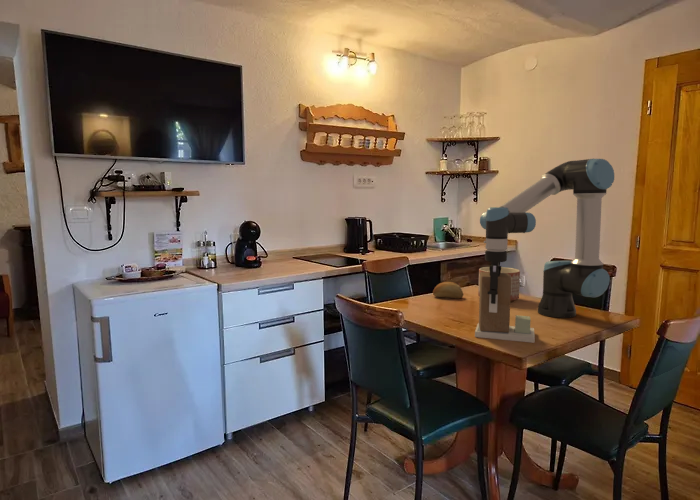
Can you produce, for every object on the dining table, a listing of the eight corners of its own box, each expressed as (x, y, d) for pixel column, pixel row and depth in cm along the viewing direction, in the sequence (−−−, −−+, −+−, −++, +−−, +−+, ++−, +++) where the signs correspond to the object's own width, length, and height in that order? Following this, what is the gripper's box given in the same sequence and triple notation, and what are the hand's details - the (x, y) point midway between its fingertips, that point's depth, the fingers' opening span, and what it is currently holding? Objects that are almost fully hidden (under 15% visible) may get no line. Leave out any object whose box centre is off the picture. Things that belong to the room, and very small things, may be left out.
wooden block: (509, 333, 164) (511, 277, 162) (480, 331, 166) (481, 276, 164) (506, 325, 174) (508, 272, 172) (478, 324, 176) (480, 271, 174)
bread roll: (433, 294, 240) (433, 279, 239) (463, 296, 237) (463, 281, 236) (431, 298, 231) (432, 283, 230) (462, 300, 227) (463, 284, 226)
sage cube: (529, 329, 168) (530, 316, 168) (529, 333, 164) (530, 319, 163) (515, 328, 170) (515, 315, 169) (514, 332, 165) (515, 318, 165)
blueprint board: (533, 333, 171) (533, 327, 171) (534, 342, 160) (534, 336, 160) (477, 328, 178) (477, 322, 178) (474, 336, 167) (474, 331, 167)
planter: (524, 298, 230) (526, 269, 229) (509, 305, 216) (510, 274, 214) (488, 293, 243) (489, 265, 241) (471, 299, 229) (472, 269, 227)
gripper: (487, 246, 180) (485, 300, 182) (482, 253, 157) (480, 315, 159) (507, 247, 177) (505, 301, 180) (505, 254, 154) (503, 317, 156)
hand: (494, 308), depth 169 cm, fingers open, 13 cm apart
